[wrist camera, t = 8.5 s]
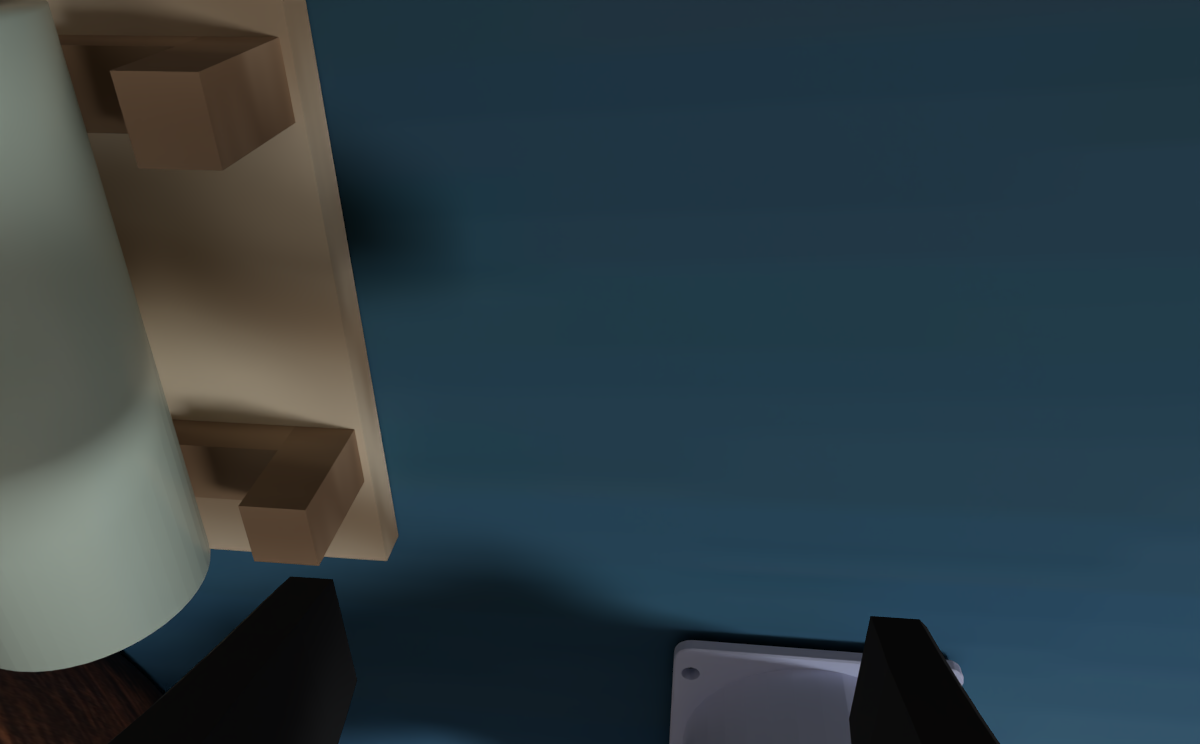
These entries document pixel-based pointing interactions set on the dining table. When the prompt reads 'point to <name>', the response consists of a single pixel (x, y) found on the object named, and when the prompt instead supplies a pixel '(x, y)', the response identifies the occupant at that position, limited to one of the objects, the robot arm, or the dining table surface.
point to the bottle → (76, 392)
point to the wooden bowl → (73, 702)
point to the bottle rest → (238, 264)
